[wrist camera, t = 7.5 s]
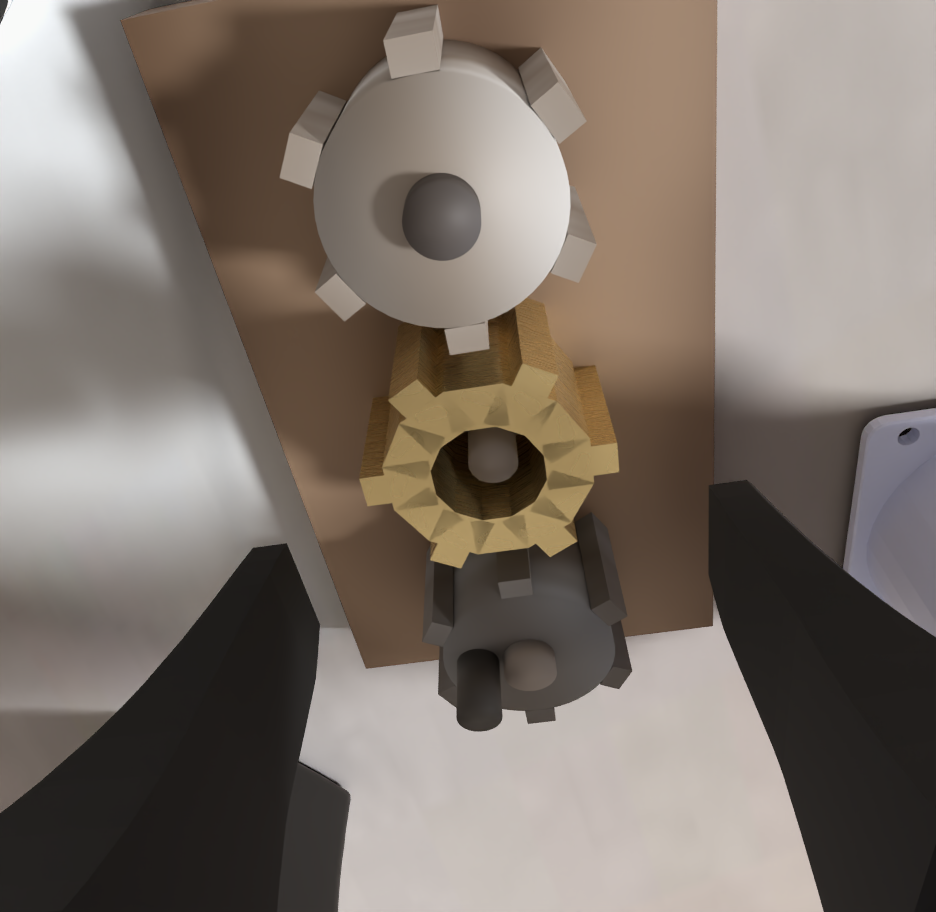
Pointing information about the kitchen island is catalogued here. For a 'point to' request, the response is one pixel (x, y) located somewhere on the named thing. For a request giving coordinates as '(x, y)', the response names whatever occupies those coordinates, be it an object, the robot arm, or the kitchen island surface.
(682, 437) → the gear board
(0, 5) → the dixie cup
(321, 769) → the kitchen island surface
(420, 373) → the brass gear
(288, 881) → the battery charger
